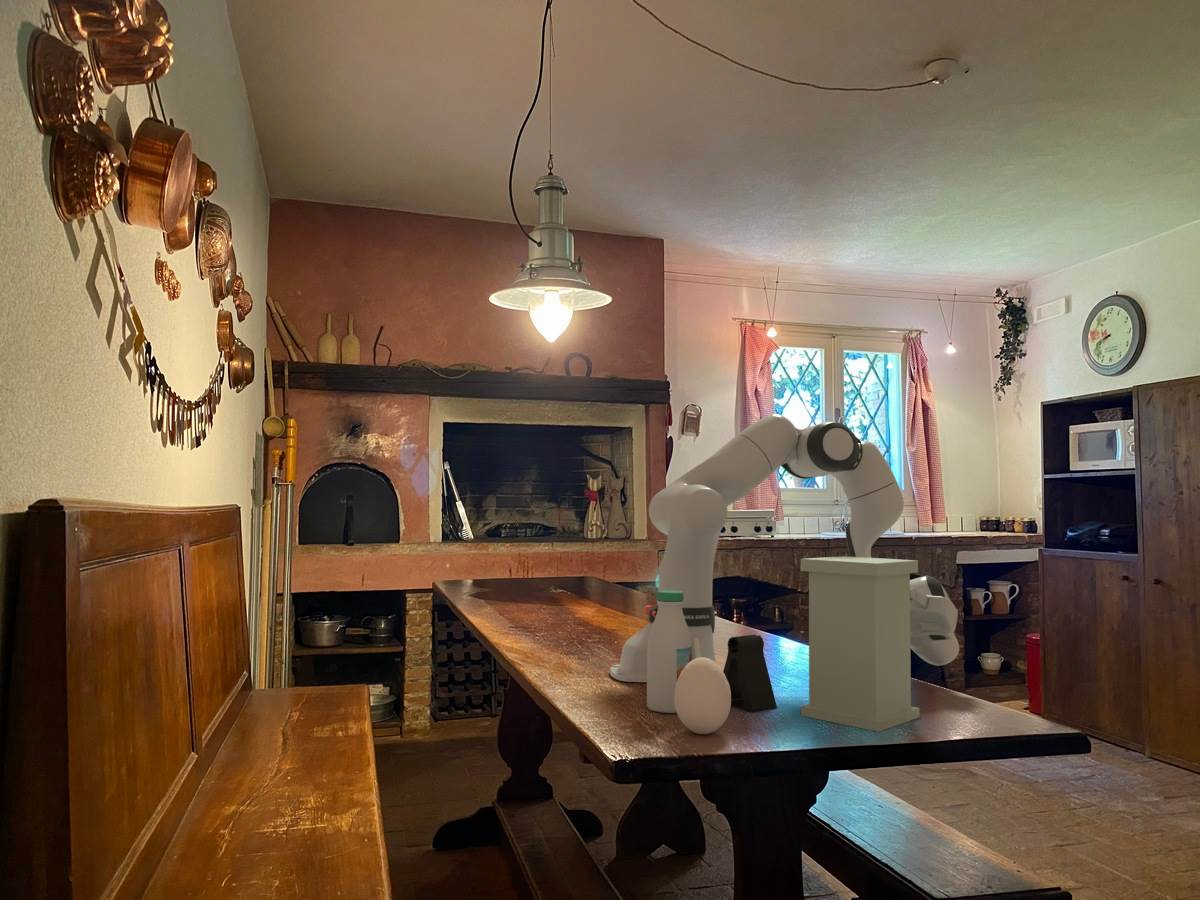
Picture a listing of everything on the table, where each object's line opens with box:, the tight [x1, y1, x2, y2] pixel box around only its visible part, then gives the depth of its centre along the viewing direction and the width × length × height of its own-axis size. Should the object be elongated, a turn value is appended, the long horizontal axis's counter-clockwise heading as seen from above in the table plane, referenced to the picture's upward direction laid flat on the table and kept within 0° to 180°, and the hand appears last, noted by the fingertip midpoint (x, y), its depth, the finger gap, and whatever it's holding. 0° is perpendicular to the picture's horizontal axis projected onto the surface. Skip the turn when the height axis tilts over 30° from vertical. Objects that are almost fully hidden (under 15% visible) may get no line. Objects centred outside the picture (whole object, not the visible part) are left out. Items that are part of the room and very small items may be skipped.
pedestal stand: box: [800, 555, 921, 733], centre depth 145 cm, size 14×14×26 cm
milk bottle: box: [646, 590, 692, 714], centre depth 148 cm, size 8×8×20 cm
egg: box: [674, 657, 732, 735], centre depth 132 cm, size 9×9×12 cm
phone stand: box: [722, 634, 777, 713], centre depth 151 cm, size 9×6×12 cm, turn 36°
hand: (885, 589), depth 168 cm, fingers open, 8 cm apart
